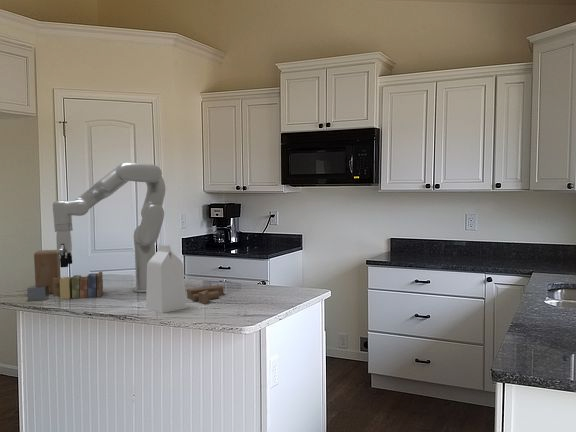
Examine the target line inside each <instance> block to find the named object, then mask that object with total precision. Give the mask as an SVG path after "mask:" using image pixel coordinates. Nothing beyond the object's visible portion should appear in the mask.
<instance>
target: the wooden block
mask: <svg viewBox="0 0 576 432" xmlns="http://www.w3.org/2000/svg"><path fill="white" fill-rule="evenodd" d="M33 260H34V261H33V262H34V263H33V265H34V281H35V283H34V284H35V285H34V286H36V285H49V295H53V278H61V267H60V254H58V253H57V249H45V250H44V249H43V250H37V251H36V252H34V254H33Z"/></svg>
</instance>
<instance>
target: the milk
mask: <svg viewBox="0 0 576 432" xmlns="http://www.w3.org/2000/svg"><path fill="white" fill-rule="evenodd" d="M157 247H158V249H157V251H155V255H154V256H153V257H152V258H151V259H150V260H149V262H148V264H147V292H145V293H146V296H145V297H146V301H145V302H146V304H145V308H146V309H147V310H150V311H154V312H157V313H161V314H165V313H168V312H174V311H179V310H183V309H187V307H188V305H187V292H186V283H185V272H184V263H183V261H182V260H181V259H180V258H179V257H178V256H177V255H175V254H174V252H172V249H171V245H170V244H162V243H161V244H158V246H157Z"/></svg>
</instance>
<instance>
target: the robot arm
mask: <svg viewBox="0 0 576 432" xmlns="http://www.w3.org/2000/svg"><path fill="white" fill-rule="evenodd" d="M162 175H163V172H162V169H161V168H160V167H159V165H156V164H151V163H148V164H147V163H138V162H122V163H120V164H119V165H117V166H115V168H113V169H112V170H111V171H109V172H108V173H107V174H106V175H104V176H103V177H101V178H100V179H99V180H97V181H96V182H95V183H94V184H93V185H92V186H91V187H89V189H87V190H86V191H84V192H83V193H82V194H81V195H79V196H78V197H77V198H75V199H73V200H56V201H54V202H52V215H53V223H54V225H53V226H54V233H56V238H55V239H56V250H57V253H58V254H59V257H60V268H68V267H69V265H72V264H73V255H72V250H73V241H72V235H71V234H72V233H71V232H73V229H74V228H73V216H75V217H76V216H79V217H81V216H82V217H83V216H85V215H87V213H89V210H90V209H92V208H93V207H94V206H95V205H97V204H99V203H100V202H101V201H103V200H105V199H106V198H108V197H110V196H111V195H113V194H115V193H116V192H117V191H118V190H119V189H120V188H122V187H123V186H125V184H127V183H128V182H136V183H138V182H139V183H145V184H146V193H145V198H144V202H143V205H142V208H141V210H140V215H141V220H140V221H141V222H140V225H138V226H137V227H136V228H135V229H134V231H133V245H134V263H135V265H134V266H135V267H134V268H135V287H133V288H132V292H135V293H147V264H148V262H149V260H150V259H151V258H152V257H153V256H154V255H155V254H156V242H157V241H158V239H159V236H160V233H161V230H162V226H163V222H164V218H165V211H164V208H163V204H164V199H165V195H166V184H165V179H164V178H163V176H162Z"/></svg>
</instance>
